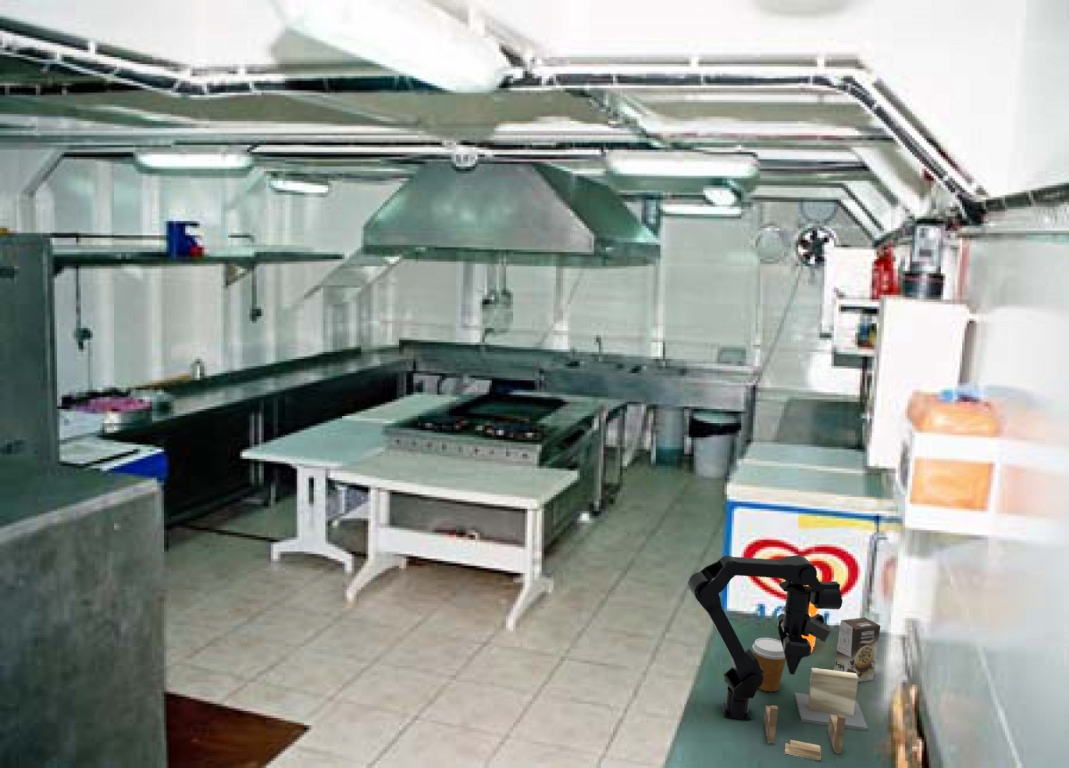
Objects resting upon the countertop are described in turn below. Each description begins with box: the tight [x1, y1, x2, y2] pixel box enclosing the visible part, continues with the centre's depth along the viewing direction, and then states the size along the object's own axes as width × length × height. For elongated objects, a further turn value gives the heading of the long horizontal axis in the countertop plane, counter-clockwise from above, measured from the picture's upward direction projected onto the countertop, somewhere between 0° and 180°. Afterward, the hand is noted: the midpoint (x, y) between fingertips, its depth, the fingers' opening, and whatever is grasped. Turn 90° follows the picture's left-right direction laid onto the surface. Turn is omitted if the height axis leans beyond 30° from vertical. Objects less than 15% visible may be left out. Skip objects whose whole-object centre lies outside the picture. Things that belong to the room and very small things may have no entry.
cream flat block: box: [807, 667, 859, 715], centre depth 237 cm, size 3×11×10 cm, turn 81°
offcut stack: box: [784, 739, 822, 761], centre depth 217 cm, size 4×8×2 cm, turn 74°
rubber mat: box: [794, 692, 869, 732], centre depth 237 cm, size 14×16×1 cm
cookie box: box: [833, 617, 881, 683], centre depth 257 cm, size 9×6×16 cm
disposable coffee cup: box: [752, 637, 787, 692], centre depth 248 cm, size 10×10×12 cm
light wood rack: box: [763, 705, 846, 754], centre depth 223 cm, size 10×17×9 cm, turn 81°
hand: (789, 665), depth 233 cm, fingers open, 9 cm apart
